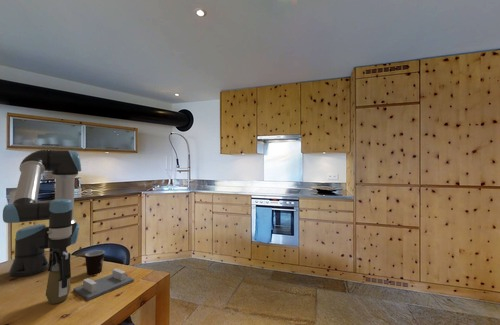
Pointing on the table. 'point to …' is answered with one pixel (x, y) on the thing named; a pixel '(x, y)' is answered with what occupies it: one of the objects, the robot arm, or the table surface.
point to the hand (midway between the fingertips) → (58, 292)
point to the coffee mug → (94, 262)
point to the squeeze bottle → (55, 286)
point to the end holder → (103, 284)
